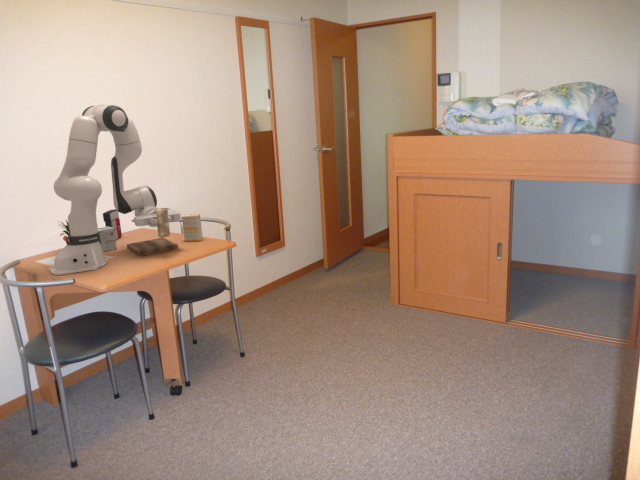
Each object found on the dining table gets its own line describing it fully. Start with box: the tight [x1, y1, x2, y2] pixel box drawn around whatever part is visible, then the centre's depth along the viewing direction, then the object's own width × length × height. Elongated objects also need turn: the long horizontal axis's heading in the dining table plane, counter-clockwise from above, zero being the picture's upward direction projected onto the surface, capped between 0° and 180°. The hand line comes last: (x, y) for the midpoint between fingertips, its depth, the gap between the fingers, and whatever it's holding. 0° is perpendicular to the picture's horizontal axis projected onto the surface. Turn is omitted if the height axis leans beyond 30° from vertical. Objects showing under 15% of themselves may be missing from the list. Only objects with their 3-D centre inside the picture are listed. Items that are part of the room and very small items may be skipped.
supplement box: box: [181, 213, 204, 243], centre depth 269 cm, size 8×5×13 cm, turn 84°
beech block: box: [155, 209, 171, 238], centre depth 239 cm, size 4×4×12 cm
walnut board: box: [126, 237, 179, 257], centre depth 259 cm, size 18×20×2 cm
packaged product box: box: [102, 209, 123, 240], centre depth 281 cm, size 11×4×15 cm, turn 179°
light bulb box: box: [98, 226, 118, 253], centre depth 259 cm, size 11×7×11 cm, turn 134°
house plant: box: [58, 219, 70, 237], centre depth 260 cm, size 14×14×16 cm
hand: (163, 221), depth 239 cm, fingers closed on beech block, 4 cm apart
